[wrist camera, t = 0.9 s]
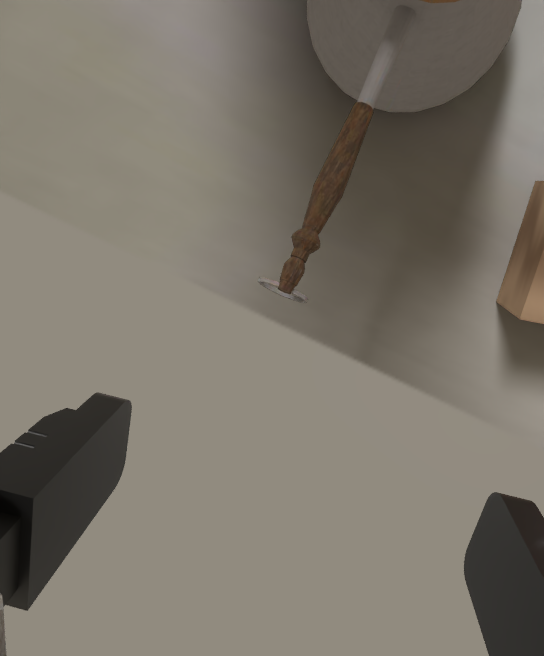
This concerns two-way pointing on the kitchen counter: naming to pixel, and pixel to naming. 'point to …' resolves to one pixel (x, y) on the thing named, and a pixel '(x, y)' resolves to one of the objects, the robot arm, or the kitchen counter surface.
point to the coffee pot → (390, 80)
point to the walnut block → (527, 264)
